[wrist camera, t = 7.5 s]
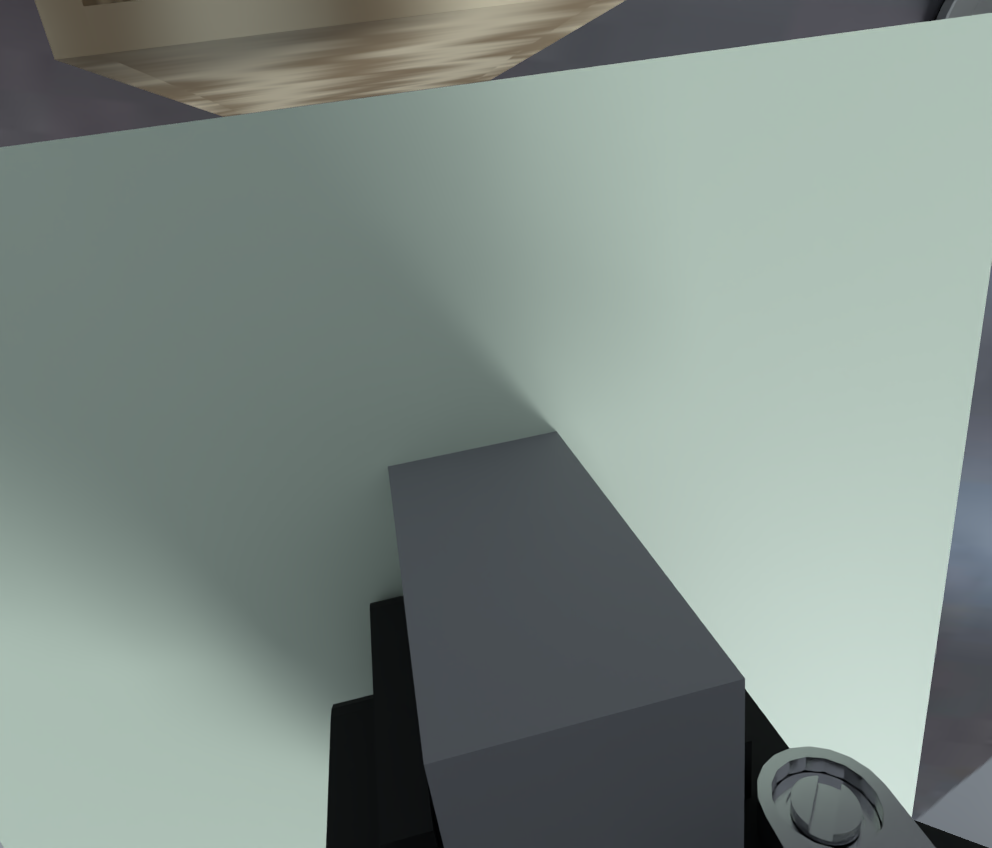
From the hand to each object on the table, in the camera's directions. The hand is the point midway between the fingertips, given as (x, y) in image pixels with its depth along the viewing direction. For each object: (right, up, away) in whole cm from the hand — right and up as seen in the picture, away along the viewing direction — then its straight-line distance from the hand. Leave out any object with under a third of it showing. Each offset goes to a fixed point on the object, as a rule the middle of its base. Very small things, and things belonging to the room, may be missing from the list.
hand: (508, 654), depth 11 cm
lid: (0, 0, +1) cm, 1 cm away
